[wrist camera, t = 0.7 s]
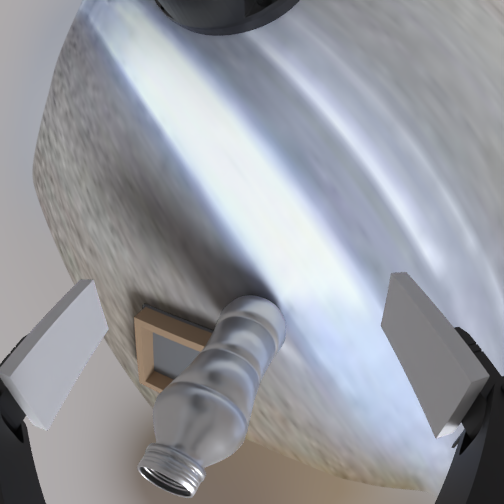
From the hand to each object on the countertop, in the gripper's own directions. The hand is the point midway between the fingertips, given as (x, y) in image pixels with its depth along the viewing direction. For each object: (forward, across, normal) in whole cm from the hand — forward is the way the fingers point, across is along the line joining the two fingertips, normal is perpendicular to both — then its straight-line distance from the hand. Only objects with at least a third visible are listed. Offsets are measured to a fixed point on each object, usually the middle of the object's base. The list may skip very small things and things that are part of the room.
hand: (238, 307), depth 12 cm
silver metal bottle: (+16, +1, -11) cm, 19 cm away
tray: (+18, -9, -19) cm, 27 cm away
